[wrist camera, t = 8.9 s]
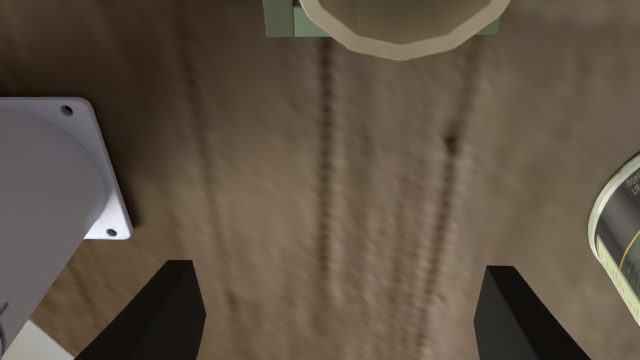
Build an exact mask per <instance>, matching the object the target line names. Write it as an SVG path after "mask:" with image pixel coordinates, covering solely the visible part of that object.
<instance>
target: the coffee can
mask: <svg viewBox="0 0 640 360" xmlns="http://www.w3.org/2000/svg"><path fill="white" fill-rule="evenodd" d="M588 237H589V242H590V246H591V249H592V251H593V253H594V255H595V256H596V258H597V259H598V261H599V262H600V263H601V264H602V265H603V267H604V268H605V270H606V271H607V273H608V274H609V276H610V278H611V280H612V281H613V283H614V285H615V286H616V288H617V290H618V291H619V293H620V295H621V296H622V298H623V300H624V301H625V303H626V305H627V306H628V308H629V310H630V311H631V313H632V315H633V317H634V318H635V320H636V322H637V323H638V325H639V326H640V153H639V154H638V155H636V156H635V157H634V158H632V159H631V160H630V161H629V162H627V163H626V164H625V165H624V166H623V167H622V168H621V169H620V170H619V171H618V172H617V173H616V174H615V175H614V176H613V177H612V178H611V180H610V181H609V182H608V183H607V184H606V186H605V187H604V188H603V189H602V191H601V193H600V194H599V196H598V198H597V200H596V202H595V204H594V206H593V208H592V211H591V214H590V218H589V223H588Z"/></svg>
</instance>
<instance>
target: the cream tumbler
mask: <svg viewBox="0 0 640 360" xmlns="http://www.w3.org/2000/svg"><path fill="white" fill-rule="evenodd" d="M510 1H511V0H299V2H300V4H301V6H302V8H303V10H304V12H305V13H306V15H307V17H309V19H310V20H311V21H312V22H313V23H315V24H316V25H317V26H319V27H320V28H321V29H322V30H324V31H325V32H326V33H328V34H329V35H330V36H331V37H333V38H334V39H335V40H337V41H338V42H339V43H340V44H342V45H343V46H344V47H346V48H347V49H348V50H351V51H353V52H358V53H363V54H367V55H372V56H377V57H381V58H386V59H390V60H395V61H405V60H409V59H414V58H418V57H423V56H427V55H432V54H436V53H441V52H445V51H450V50H452V49H454V48H456V47H457V46H459V45H460V44H462V43H463V42H464V41H466V40H467V39H469V38H470V37H471V36H473V35H474V34H476V33H477V32H479V31H480V30H481V29H483V28H484V27H486V26H487V25H489V24H490V23H491V22H493V21H494V20H496V19H497V18H499V16H500V15H501V14H502V13H503V12H504V10H505V9H506V7H507V6H508V4H509V3H510Z"/></svg>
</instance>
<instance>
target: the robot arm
mask: <svg viewBox="0 0 640 360" xmlns="http://www.w3.org/2000/svg"><path fill="white" fill-rule="evenodd" d="M65 105H66V106H69V107H70V108H71V109H72V111H73V112H70V111H68V110H67V109H66V107H65ZM111 229H113V230H115V231H113V230H111ZM132 233H133V227H132V224H131V221H130V218H129V215H128V212H127V209H126V206H125V203H124V200H123V197H122V194H121V191H120V188H119V185H118V182H117V179H116V176H115V173H114V170H113V167H112V164H111V161H110V158H109V155H108V152H107V149H106V146H105V143H104V140H103V137H102V134H101V131H100V128H99V125H98V122H97V119H96V116H95V113H94V110H93V107H92V105H91V104H90V103H89V102H88V101H87V100H86V99H84V98H81V97H0V360H1V358H2V356H3V355H4V354H5V352H6V351H7V349H8V348H9V346H10V345H11V343H12V342H13V340H14V339H15V338H16V336H17V335H18V333H19V332H20V330H21V329H22V327H23V326H24V324H25V323H26V322H27V320H28V319H29V317H30V316H31V314H32V313H33V312H34V310H35V309H36V307H37V306H38V304H39V303H40V301H41V300H42V299H43V297H44V296H45V294H46V293H47V291H48V290H49V288H50V287H51V285H52V284H53V283H54V281H55V280H56V278H57V277H58V275H59V274H60V272H61V271H62V270H63V268H64V267H65V265H66V264H67V262H68V261H69V259H70V258H71V257H72V255H73V254H74V252H75V251H76V249H77V248H78V246H79V245H80V243H81V242H82V241H83V239H128V238H130V236H131V234H132ZM205 318H206V311H205V307H204V304H203V300H202V296H201V292H200V288H199V285H198V281H197V277H196V273H195V269H194V266H193V262H192V260H168V261H167V262H166V263H165V264H164V265H163V266H162V267H161V268H160V269H159V270H158V271H157V273H156V274H155V275H154V276H153V277H152V278H151V279H150V280H149V282H148V283H147V284H146V285H145V286H144V287H143V288H142V289H141V290H140V292H139V293H138V294H137V295H136V296H135V297H134V298H133V299H132V300H131V302H130V303H129V304H128V305H127V306H126V307H125V308H124V309H123V310H122V311H121V312H120V313H119V314H118V315H117V316H116V318H115V319H114V320H113V321H112V322H111V323H110V324H109V325H108V326H107V327H106V328H105V329H104V330H103V331H102V332H101V333H100V334H99V335H98V336H97V337H96V338H95V339H94V340H93V341H92V342H91V343H90V344H89V345H88V346H87V347H86V348H85V349H84V350H83V351H82V352H81V353H80V354H79V355H78V356H77V357H76V358H75V359H74V360H196V358H197V355H198V351H199V347H200V342H201V338H202V333H203V328H204V323H205ZM474 327H475V333H476V340H477V346H478V351H479V357H480V360H591V359H590V358H589V357H588V355H587V354H586V353H585V352H584V351H583V350H582V349H581V348H580V347H579V345H578V344H577V343H576V342H575V341H574V340H573V338H572V337H571V336H570V335H569V334H568V333H567V332H566V330H565V329H564V328H563V327H562V326H561V325H560V323H559V322H558V321H557V320H556V319H555V317H554V316H553V315H552V314H551V313H550V311H549V310H548V309H547V308H546V306H545V305H544V304H543V303H542V302H541V300H540V299H539V298H538V297H537V295H536V294H535V293H534V291H533V290H532V289H531V288H530V286H529V285H528V284H527V283H526V281H525V280H524V279H523V277H522V276H521V275H520V274H519V272H518V271H517V270H516V269H515V268H514V267H513V266H486V271H485V275H484V279H483V283H482V288H481V292H480V296H479V300H478V305H477V309H476V313H475V317H474Z"/></svg>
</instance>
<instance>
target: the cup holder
mask: <svg viewBox="0 0 640 360" xmlns="http://www.w3.org/2000/svg"><path fill="white" fill-rule="evenodd" d="M262 2H263V13H264V23H265V34H266V37H294V36H296V37H328V36H330V35H329V34H328V33H326V32H325V31H324V30H322V29H321V28H320V27H319V26H317V25H316V24H315V23H313V22H312V21H311V20H310V19H309V17H307V15H306V13H305V12H304V10H303V8H302V6H301V4H300V2H299V0H262ZM502 14H503V13H502ZM502 14H501V15H500V16H499V18H497V19H496V20H494V21H493V22H491V23H490V24H489V25H487V26H486V27H484V28H483V29H481V30H480V31H479V32H477V33H476V34H474V35H497V34H498V33H499V30H500V25H501V20H502Z"/></svg>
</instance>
